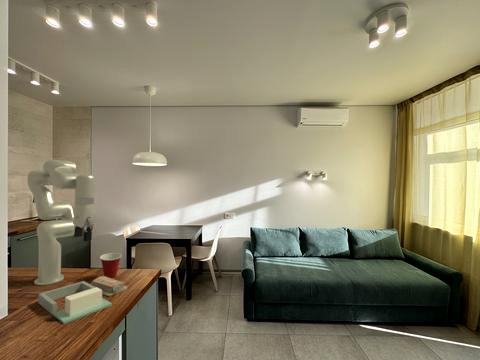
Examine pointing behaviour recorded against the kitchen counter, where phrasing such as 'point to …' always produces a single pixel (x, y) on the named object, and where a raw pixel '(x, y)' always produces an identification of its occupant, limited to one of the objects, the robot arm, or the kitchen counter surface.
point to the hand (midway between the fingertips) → (82, 238)
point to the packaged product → (108, 285)
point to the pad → (66, 318)
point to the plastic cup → (110, 264)
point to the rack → (61, 295)
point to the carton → (83, 301)
